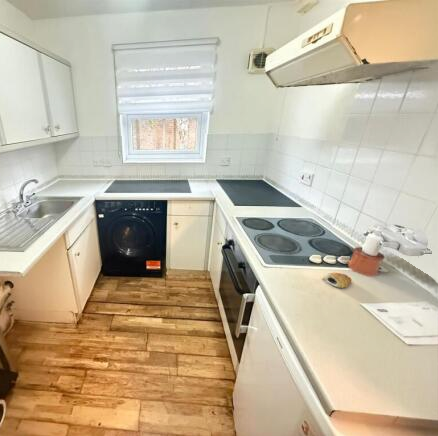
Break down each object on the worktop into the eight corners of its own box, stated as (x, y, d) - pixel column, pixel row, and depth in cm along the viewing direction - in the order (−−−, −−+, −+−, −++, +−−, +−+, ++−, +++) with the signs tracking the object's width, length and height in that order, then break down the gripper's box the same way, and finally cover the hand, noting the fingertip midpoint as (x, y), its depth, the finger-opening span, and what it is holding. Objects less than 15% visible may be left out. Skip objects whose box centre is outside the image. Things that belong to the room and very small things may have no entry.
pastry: (338, 275, 98) (341, 267, 96) (355, 285, 92) (359, 277, 90) (321, 280, 95) (324, 272, 93) (339, 290, 89) (342, 282, 88)
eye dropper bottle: (374, 251, 100) (385, 225, 95) (377, 257, 95) (389, 230, 91) (361, 248, 102) (371, 223, 97) (363, 254, 98) (374, 228, 93)
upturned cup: (372, 265, 104) (379, 250, 101) (381, 278, 96) (389, 261, 93) (345, 260, 108) (351, 245, 105) (351, 272, 100) (357, 255, 97)
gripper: (432, 261, 87) (391, 259, 88) (386, 235, 105) (352, 234, 107) (440, 246, 84) (398, 244, 85) (391, 222, 103) (357, 221, 104)
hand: (372, 238), depth 96 cm, fingers open, 7 cm apart
